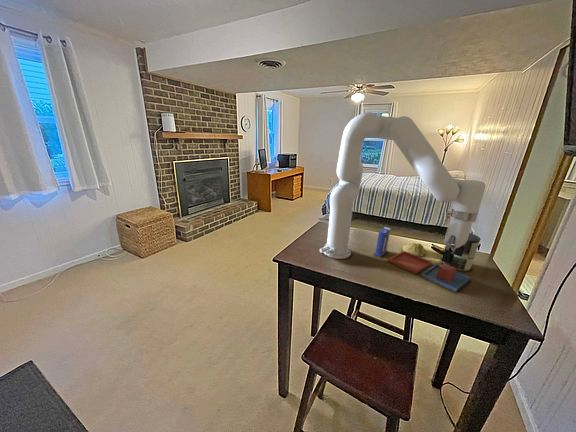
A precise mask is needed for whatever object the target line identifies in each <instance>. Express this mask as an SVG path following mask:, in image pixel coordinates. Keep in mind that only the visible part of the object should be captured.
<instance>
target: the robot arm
mask: <svg viewBox="0 0 576 432" xmlns="http://www.w3.org/2000/svg"><path fill="white" fill-rule="evenodd" d="M367 138H373V139H380V140H388V141H393V142H394V144H395V145H396V147H398V149H399V151H400V152H401V153H402V155H403V156H404V158H405V159H406V161H407V162H408V164H409V165H410V166H411V168H412V169H413V171H415V173H416V174H417V175H418V177H419V178H420V179H421V181H422V182H423V184H424V185H425V186H426V188H427V189H428V190H429V192H430V193H431V195H432V196H433V197H434V199H435V200H437V201H439V202H440V203H450V202H452V203H453V204H452V206H451V207H452V208H451V212H450V215H449V218H450V220H449V223H448V225H447V227H446V231H445V235H444V238H443V242H442V243H443V245H445V247H444V249H443V252H442V253H443V254H442V257H441V261H442V263H444V262H446V263H449V264H452V261H453V258H454V255H457V256H460V257H461V256H462V255H463V251H464V248H465V247H463V246H465V243H466V242H467V240H468V237H469V234H470V233H471V230H472V225H473V223H476V221H477V218H478V215H479V211H480V208H481V204H482V200H483V197H484V194H485V190H486V183H485V182H484V181H482V180H478V179H477V180H476V179H461V178H460V179H459V178H456V177H455V178H454V177H453V176H452V175H451V174H450V172H449V170H448V169H447V167H446V166H445V165H444V164H443V162H442V161H441V159H440V157H439V156H438V154H437V152H436V151H435V149H434V148H433V146H432V145H431V143H429V140H428V139H427V137H425V135H424V134H423V132H422V131H421V130H420V129H419V127H418V125H417V124H416V123H415V122H414V120H413V119H412V118H411V117H409V116H404V115H403V116H399V117H394V116H386V115H385V116H384V115H378V114H376V113H375V112H363V113H360V114H358V115H356V116H355V117H353V118H351V120H350V121H349V122H348V123H347V124H346V126H345V127H344V129H343V133H342V136H341V141H340V147H339V152H338V159H337V165H336V170H335V172H336V176H337V178H338V181H339V183H338V185H336V186H335V187H334V188H333V189H332V190H331V193H330V196H329V217H328V230H327V238H326V243H325V245H324V246H323V247H321V248H319V250H318V251H319V253H320V254H324V255H325V256H327V257H329V258H332V259H336V260H340V259H341V260H343V259H347V258H349V257H350V256H351V254H352V252H351V249H349V243H350V235H351V227H352V219H353V209H354V207H353V206H354V202H355V200H356V199H357V198H358V196H359V194H360V188H361V183H362V177H363V172H364V164H363V162H362V161H361V158H362V157H361V156H362V152H363V144H364V141H365V139H367ZM451 244H454V245H451ZM450 247H452V248H453V249H452V248H450Z"/></svg>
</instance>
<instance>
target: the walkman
mask: <svg viewBox="0 0 576 432" xmlns="http://www.w3.org/2000/svg"><path fill="white" fill-rule="evenodd" d="M391 231H392V229H391V228H390V227H386V226H383V228H382V229H380V230H379V231H378V236H377V241H376V248H375V253H374V256H377V257H379V258H382V257H383V256H384V255H385V254H386V252H387V250H388V245H389V240H390V234H391Z"/></svg>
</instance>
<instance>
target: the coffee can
mask: <svg viewBox="0 0 576 432" xmlns="http://www.w3.org/2000/svg"><path fill="white" fill-rule="evenodd" d="M480 242H481V237H480V236H478V235H476V234H474V233H471V232H470V234H469V237H468V240H467V242H466V243H465V246H463V247H465V248H464V251H463V255H462V256H461V257H460V256H457V255H454V258H453V261H452V264H449V263H446V262H443V264H444V263H445V264H447V265H450V266H452V267H455V268H457V271H470V270H471V268H472V266H473V262H474V259H475V256H476V253H477V250H478V247H479V244H480ZM451 245H454V244H451ZM450 248H452V247H450ZM452 249H453V248H452Z"/></svg>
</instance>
